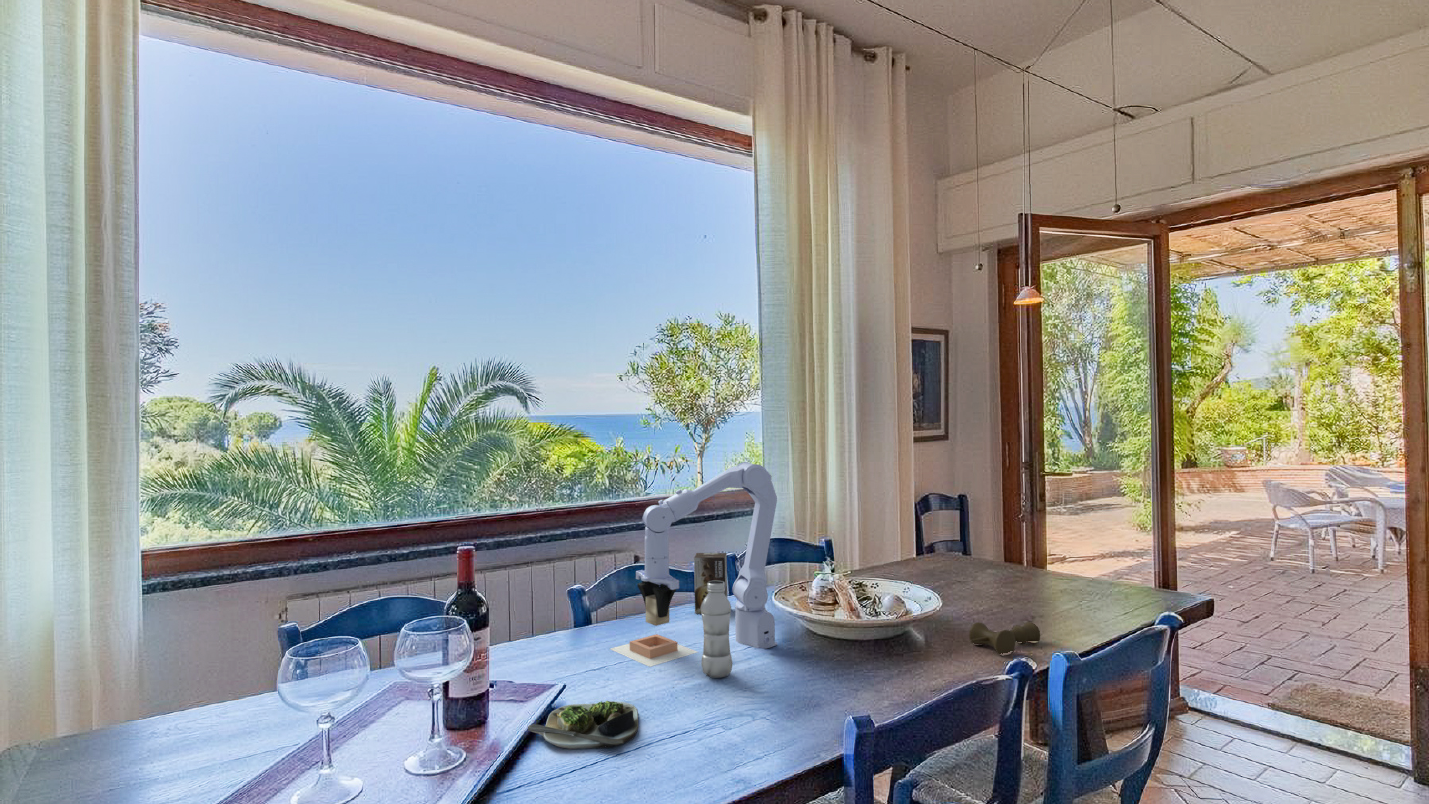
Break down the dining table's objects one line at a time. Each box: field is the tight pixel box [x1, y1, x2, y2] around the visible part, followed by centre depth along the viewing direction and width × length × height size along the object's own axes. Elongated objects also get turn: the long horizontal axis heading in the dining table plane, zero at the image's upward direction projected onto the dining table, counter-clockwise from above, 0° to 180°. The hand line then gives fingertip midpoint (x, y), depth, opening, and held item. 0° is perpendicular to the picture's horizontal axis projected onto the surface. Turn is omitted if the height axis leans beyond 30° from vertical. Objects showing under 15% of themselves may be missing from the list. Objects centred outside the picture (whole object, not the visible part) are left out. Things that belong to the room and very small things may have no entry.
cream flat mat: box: [609, 642, 698, 668], centre depth 163 cm, size 16×14×1 cm
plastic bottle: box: [700, 581, 734, 679], centre depth 149 cm, size 6×7×20 cm
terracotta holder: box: [629, 633, 678, 659], centre depth 163 cm, size 8×8×2 cm
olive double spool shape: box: [968, 621, 1041, 655], centre depth 166 cm, size 6×10×20 cm
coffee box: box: [693, 552, 728, 615], centre depth 199 cm, size 9×6×16 cm
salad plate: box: [527, 700, 640, 750], centre depth 124 cm, size 19×18×5 cm
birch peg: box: [645, 595, 670, 627], centre depth 164 cm, size 4×4×6 cm
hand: (656, 614), depth 164 cm, fingers closed on birch peg, 4 cm apart
